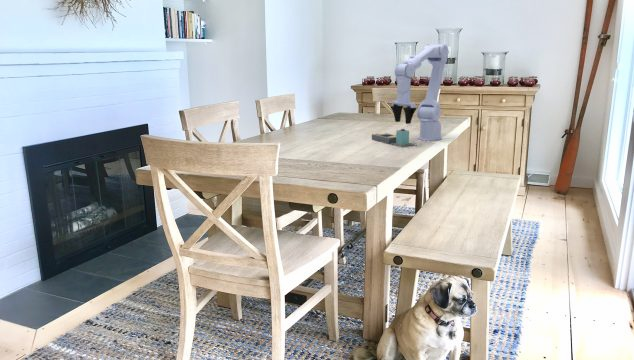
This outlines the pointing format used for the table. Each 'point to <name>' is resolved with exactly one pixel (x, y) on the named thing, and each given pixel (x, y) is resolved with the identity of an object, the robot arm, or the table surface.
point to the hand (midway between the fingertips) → (402, 122)
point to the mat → (402, 145)
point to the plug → (402, 137)
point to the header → (384, 137)
